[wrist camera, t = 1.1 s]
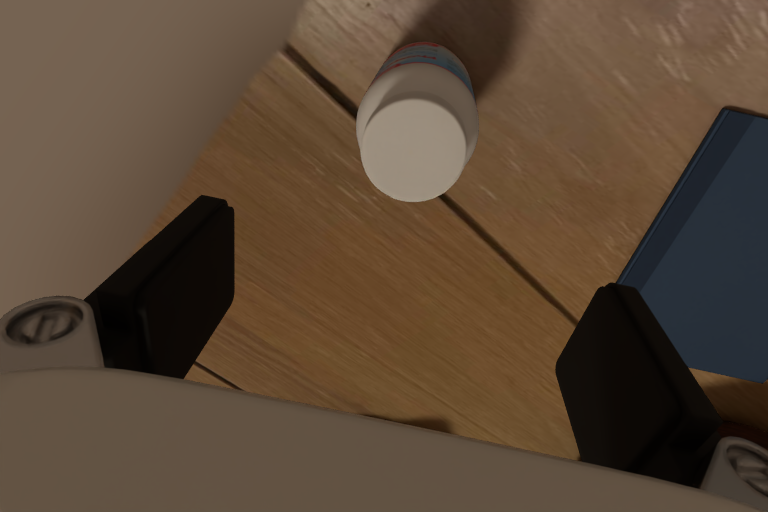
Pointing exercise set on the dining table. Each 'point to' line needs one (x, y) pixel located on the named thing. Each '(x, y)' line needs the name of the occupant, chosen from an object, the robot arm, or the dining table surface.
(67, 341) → the robot arm
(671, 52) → the dining table surface
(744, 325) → the book
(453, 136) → the pill bottle
